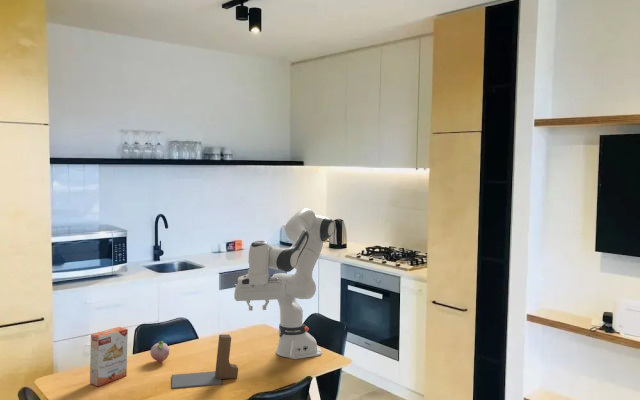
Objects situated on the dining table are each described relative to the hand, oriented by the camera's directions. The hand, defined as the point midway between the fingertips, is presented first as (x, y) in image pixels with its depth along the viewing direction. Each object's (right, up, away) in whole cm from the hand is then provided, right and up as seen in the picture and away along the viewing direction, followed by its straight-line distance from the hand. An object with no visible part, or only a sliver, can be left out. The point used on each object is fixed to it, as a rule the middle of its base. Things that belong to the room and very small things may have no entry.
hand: (257, 309), depth 221 cm
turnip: (-47, -27, +13) cm, 56 cm away
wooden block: (-13, -29, -2) cm, 32 cm away
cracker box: (-62, -28, -8) cm, 68 cm away
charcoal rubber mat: (-25, -29, -6) cm, 39 cm away
